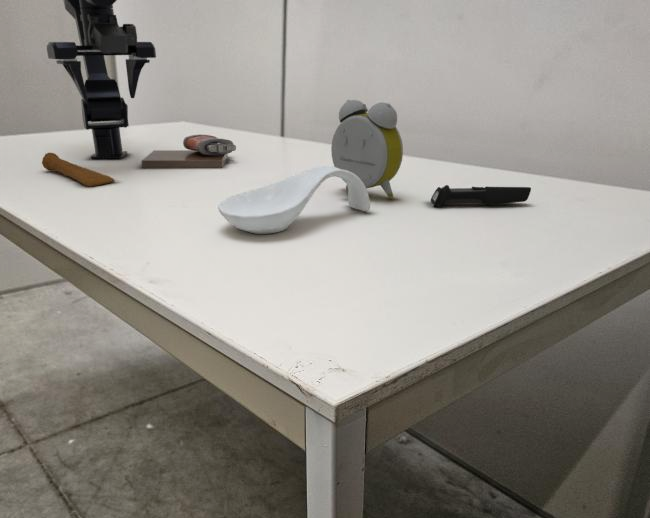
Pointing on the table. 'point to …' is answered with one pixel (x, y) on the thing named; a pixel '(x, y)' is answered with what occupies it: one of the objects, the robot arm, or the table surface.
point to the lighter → (209, 144)
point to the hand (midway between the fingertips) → (109, 99)
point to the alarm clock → (368, 143)
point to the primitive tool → (74, 171)
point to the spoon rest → (286, 200)
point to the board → (182, 159)
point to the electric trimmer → (480, 195)
